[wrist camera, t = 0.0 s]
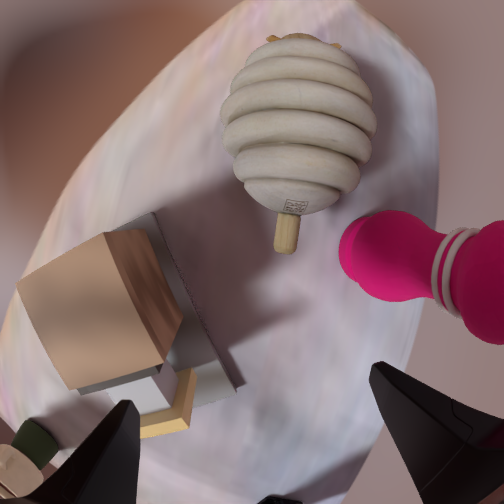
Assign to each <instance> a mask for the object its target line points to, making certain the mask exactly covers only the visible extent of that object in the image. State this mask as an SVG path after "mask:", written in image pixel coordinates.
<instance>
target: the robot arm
mask: <svg viewBox="0 0 504 504" xmlns="http://www.w3.org/2000/svg"><path fill="white" fill-rule="evenodd" d="M369 383H370V386H371V389H372V391H373V394H374V397H375V400H376V402H377V405H378V408H379V411H380V413H381V415H382V418H383V420H384V422H385V424H386V426H387V428H388V430H389V432H390V434H391V436H392V438H393V439H394V442H395V444H396V446H397V448H398V450H399V452H400V454H401V456H402V458H403V460H404V462H405V464H406V466H407V469H408V471H409V473H410V475H411V477H412V479H413V481H414V484H415V486H416V488H417V490H418V492H419V495H420V497H421V499H422V502H423V504H504V419H501V418H498V417H495V416H492V415H489V414H487V413H484V412H481V411H478V410H476V409H473V408H471V407H469V406H466V405H464V404H462V403H460V402H458V401H456V400H454V399H451V398H450V397H448V396H447V395H445V394H443V393H441V392H439V391H437V390H435V389H433V388H431V387H430V386H428V385H426V384H424V383H422V382H420V381H418V380H417V379H415V378H413V377H411V376H409V375H407V374H406V373H404V372H402V371H400V370H398V369H396V368H395V367H393V366H391V365H389V364H387V363H386V362H384V361H380V362H377V363H374V364H373V365H372V367H371V372H370V376H369ZM139 460H140V414H139V411H138V410H137V408H136V406H135V405H134V403H133V401H132V400H130V399H122V400H120V401H119V402H118V403H117V404H116V406H115V407H114V408H113V409H112V410H111V411H110V412H109V413H108V414H107V416H106V417H105V418H104V419H103V420H102V421H101V422H100V423H99V424H98V426H97V427H96V428H95V429H94V430H93V431H92V432H91V433H90V434H89V436H88V437H87V438H86V439H85V440H84V441H83V442H82V443H81V445H80V446H79V447H78V448H77V449H76V450H75V451H74V452H73V453H72V455H71V456H70V457H69V458H68V459H67V460H66V461H65V462H64V463H63V464H62V465H61V466H60V467H59V469H58V470H57V471H56V472H54V473H53V474H52V475H51V476H50V477H49V478H48V479H47V480H46V481H44V482H43V483H42V484H41V485H40V486H39V487H37V488H36V489H35V490H34V491H33V492H31V493H30V494H28V495H26V496H23V497H17V498H7V499H0V504H136V496H137V482H138V470H139ZM258 504H303V502H298V501H292V500H286V499H280V498H275V497H266V498H265V499H263V500H262V501H261V502H259V503H258Z"/></svg>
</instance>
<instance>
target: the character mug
mask: <svg viewBox="0 0 504 504" xmlns="http://www.w3.org/2000/svg"><path fill="white" fill-rule="evenodd" d="M57 452H58V446H57V444H56V442H55V441H54V439H53V438H52V437H51V436H50V435H49V434H48V433H47V432H45V431H44V430H43V429H42V428H40V427H39V426H38V425H36V424H35V423H33V422H32V421H26V420H25V421H24V423H23V424H22V425H21V427H20V428H19V430H18V432H17V433H16V435H15V437H14V439H13V441H12V443H11V446H10V445H6V444H1V445H0V495H1V496H2V497H3V498H5V499H7V498H17V497H23V496H26V495H28V494H30V493H31V492H33V491H34V490H35V489H36V488H37V487H39V486H40V485H41V484H42V482H43V476H42V474H41V472H40V470H41V469H42V468H44V467H45V466H46V464H47V463H48V462H49V461H50V460H51V459H52V458H53V457H54V456H55V455H56V453H57Z"/></svg>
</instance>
